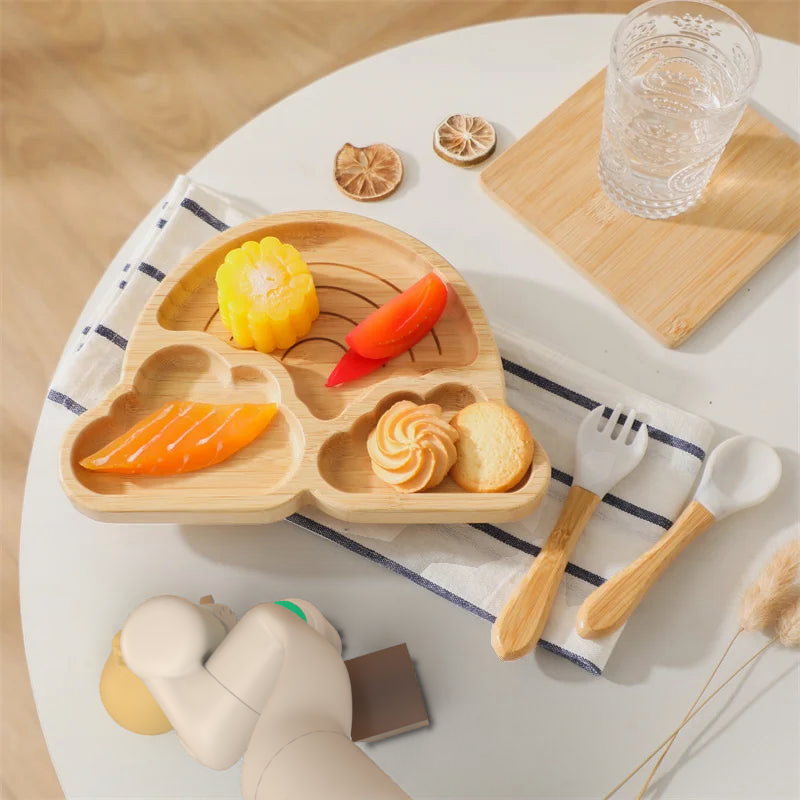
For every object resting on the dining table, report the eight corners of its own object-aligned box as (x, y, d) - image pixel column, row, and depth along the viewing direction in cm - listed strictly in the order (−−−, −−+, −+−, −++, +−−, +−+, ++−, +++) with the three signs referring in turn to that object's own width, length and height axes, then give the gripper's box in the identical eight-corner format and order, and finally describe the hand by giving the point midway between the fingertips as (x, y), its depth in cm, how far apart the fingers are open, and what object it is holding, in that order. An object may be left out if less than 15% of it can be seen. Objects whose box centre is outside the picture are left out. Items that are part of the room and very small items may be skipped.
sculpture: (233, 663, 109) (213, 655, 99) (173, 754, 106) (145, 755, 96) (158, 612, 111) (131, 599, 101) (97, 699, 108) (62, 695, 98)
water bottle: (320, 607, 111) (289, 571, 88) (354, 656, 109) (331, 632, 85) (272, 643, 110) (228, 616, 86) (305, 692, 107) (269, 678, 84)
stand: (429, 724, 106) (427, 719, 81) (371, 742, 105) (352, 742, 81) (412, 664, 108) (405, 642, 84) (356, 681, 108) (332, 664, 83)
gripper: (250, 727, 86) (281, 729, 103) (214, 556, 92) (248, 585, 109) (173, 750, 85) (216, 748, 102) (141, 577, 91) (187, 603, 108)
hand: (232, 664), depth 105 cm, fingers closed on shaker, 4 cm apart
